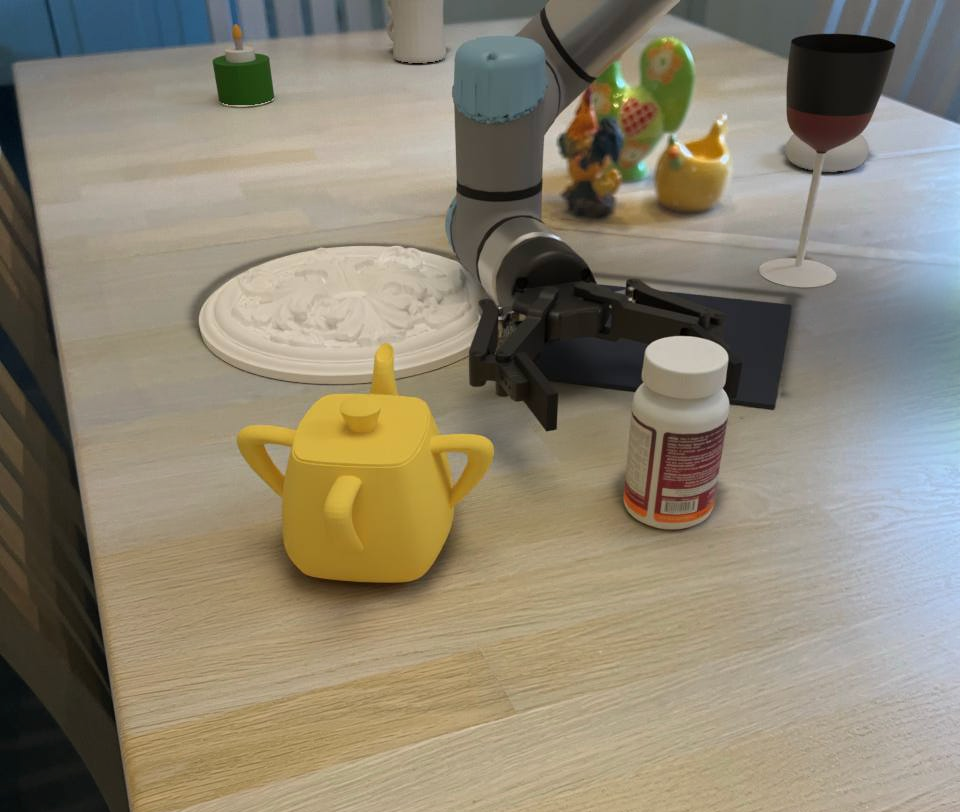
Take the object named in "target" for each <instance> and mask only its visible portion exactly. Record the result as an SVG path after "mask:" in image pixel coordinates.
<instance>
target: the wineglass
mask: <svg viewBox="0 0 960 812" xmlns="http://www.w3.org/2000/svg"><path fill="white" fill-rule="evenodd" d="M895 50H896V44H895V42H892V41H891V40H888V39H886V38H881V37H877V36H872V35H871V36H870V35H864V34H863V35H862V34H853V33H852V34H851V33H815V34H813V33H812V34H804V35H800V36H797V37H794V38H792V39H791V41H790V46H789V53H788V62H787V74H786V88H785V89H786V90H785V92H786V93H785V94H786V95H785V96H786V106H785V107H786V121H787V124H788V127H789V129H790V131H792V133H793V134H795V135H796V136H797V137H798V138H799V139H800V140H801V141H803V142H804V143H806V144H807V145H809V146H810V147H812V148H813V149H814V150H816V152H817V155H816V160H815V165H814V170H813V171H812V175H811V181H810V184H809V185H810V186H809V189H808V190H809V191H808V196H807V200H806V206H805V211H804V217H803V222H802V226H801V231H800V235H799V241H798V246H797V247H798V248H797V252H796V257H795V258H788V257H786V258H784V257H783V258H776V259H771V260H769V261H765V262H763V263H762V264H761V265H760V266H759V267H758V272H759V275H760V276H761V277H763V278H764V279H765V280H768V281H770V282H772V283H775V284H778V285H781V286H786V287H794V288H816V287H822V286H823V287H824V286H826V285H830V284H831V283H833V282H834V281H836V278H837V273H836V272H835V271H836V270H834V269H833V268H831V267H830V266H828V265H827V264H824V263H822V262H818V261H814V260H810V259H805V256H806V251H807V246H808V241H809V237H810V231H811V227H812V222H813V221H812V220H813V216H814V211H815V206H816V201H817V198H818V197H817V196H818V192H819V186H820V181H821V176H822V173H823V172H822V167H823V162H824V157H825V153H826V152H827V151H829V150H831V149H834V148H836V147H838V146H841V145H843V144H845V143H847V142H849V141H851V140H853V139H854V138H856V137H857V136H858V135H862V133H864V131H865V129H867V127H868V125H869V124H870V122H871V120H872V117H873V116H874V113H875V110H876V108H877V106H878V103H879V101H880V98H881V96H882V94H883V90H884V88H885V85H886V82H887V78H888V75H889V72H890V69H891V66H892V62H893V58H894V54H895Z"/></svg>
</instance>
